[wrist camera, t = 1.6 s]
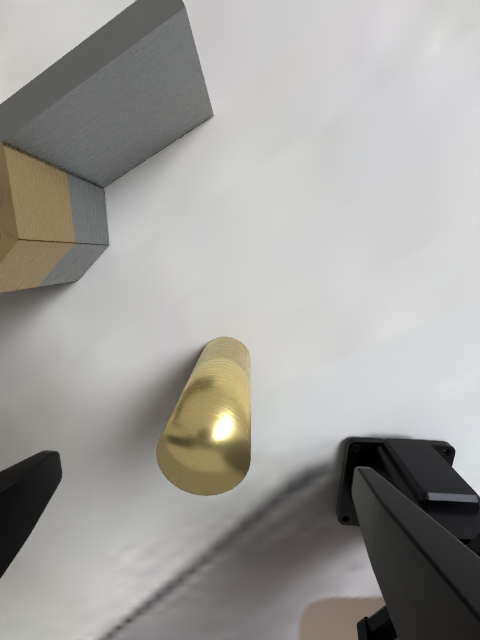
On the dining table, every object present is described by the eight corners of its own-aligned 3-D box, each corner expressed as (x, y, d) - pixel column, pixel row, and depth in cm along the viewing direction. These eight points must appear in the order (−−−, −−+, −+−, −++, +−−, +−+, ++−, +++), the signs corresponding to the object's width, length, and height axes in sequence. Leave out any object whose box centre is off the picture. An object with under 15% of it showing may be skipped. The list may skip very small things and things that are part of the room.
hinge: (213, 284, 15) (190, 303, 9) (-65, 276, 16) (-250, 290, 10) (213, 31, 12) (182, -164, 7) (-125, 30, 13) (-430, -153, 7)
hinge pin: (249, 384, 17) (249, 497, 9) (201, 382, 17) (158, 493, 9) (251, 337, 16) (252, 417, 8) (200, 335, 16) (154, 412, 8)
